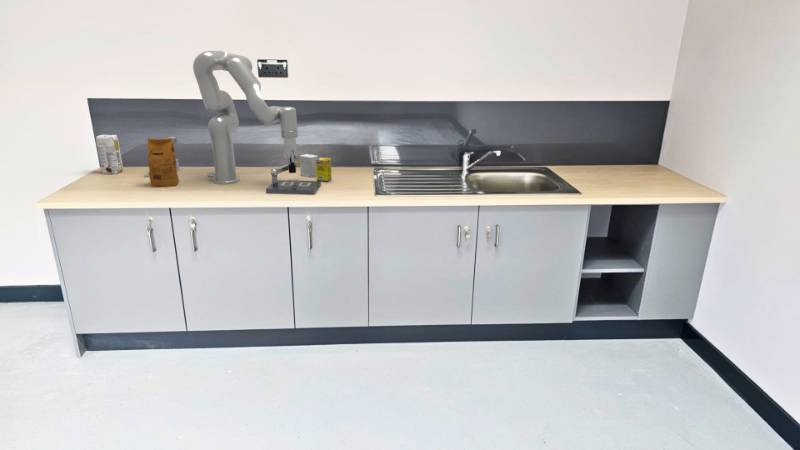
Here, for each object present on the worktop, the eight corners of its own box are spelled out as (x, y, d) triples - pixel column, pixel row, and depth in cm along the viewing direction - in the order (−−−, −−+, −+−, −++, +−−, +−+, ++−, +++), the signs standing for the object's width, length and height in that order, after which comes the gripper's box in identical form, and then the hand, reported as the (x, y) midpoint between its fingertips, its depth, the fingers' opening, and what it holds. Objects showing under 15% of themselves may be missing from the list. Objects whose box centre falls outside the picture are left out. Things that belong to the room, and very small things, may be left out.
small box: (319, 175, 257) (318, 155, 254) (312, 177, 253) (311, 157, 249) (307, 173, 261) (306, 153, 258) (300, 175, 257) (299, 155, 253)
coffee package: (154, 181, 240) (147, 136, 232) (181, 181, 242) (175, 136, 234) (147, 187, 231) (140, 140, 223) (176, 186, 232) (169, 139, 225)
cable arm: (275, 175, 229) (274, 170, 228) (269, 174, 230) (269, 169, 229) (299, 166, 247) (299, 161, 246) (294, 165, 248) (293, 160, 247)
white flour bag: (117, 174, 251) (110, 136, 245) (100, 174, 251) (93, 136, 245) (125, 171, 258) (119, 134, 252) (108, 170, 258) (102, 133, 252)
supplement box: (328, 182, 245) (327, 160, 241) (316, 181, 246) (315, 159, 243) (331, 179, 251) (331, 158, 247) (320, 178, 252) (319, 157, 248)
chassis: (266, 193, 225) (265, 179, 223) (275, 184, 241) (274, 170, 238) (314, 194, 225) (314, 180, 223) (321, 185, 240) (320, 172, 238)
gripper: (279, 132, 238) (282, 169, 244) (283, 137, 224) (286, 177, 231) (295, 131, 240) (298, 168, 246) (300, 136, 227) (303, 175, 233)
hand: (292, 172), depth 238 cm, fingers closed
